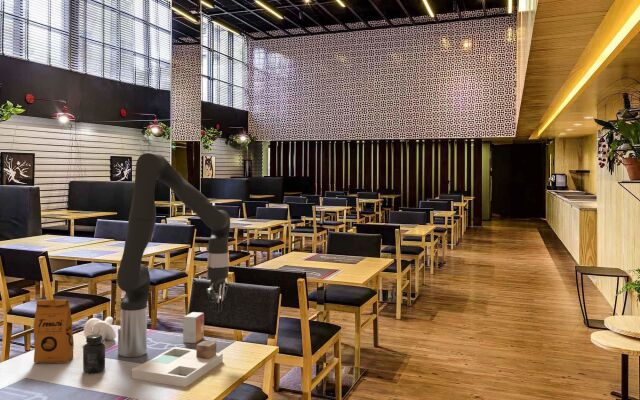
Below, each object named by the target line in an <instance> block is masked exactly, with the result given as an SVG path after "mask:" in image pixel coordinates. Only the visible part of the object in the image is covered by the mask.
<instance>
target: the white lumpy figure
mask: <svg viewBox="0 0 640 400" xmlns="http://www.w3.org/2000/svg"><path fill="white" fill-rule="evenodd" d="M113 321H114V319H113V317H112V316H107V317H105V319H104V320H101V319H99V318H97V317H92V318H90V319H88V320H87V321H86V322H85V323H84V326H83V335H84V338H85V339H86V337H87V336H88V335H92V334H101V335H102V341H104V340H105V339H106V340H107V341H114V340H115V339H116V336H117V334H116V331H115V329H114V328H113V326H112V324H113Z"/></svg>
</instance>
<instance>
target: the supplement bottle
mask: <svg viewBox="0 0 640 400" xmlns="http://www.w3.org/2000/svg"><path fill="white" fill-rule="evenodd" d="M85 339H86V341H85V342H86V344H84V345H83V348H82V371H83V374H86V375H96V374H100V373H102V372H104V371H105V369H106V344H105V343H104V342H102V341H103V340H102V335H101V334H92V335H88V336H87V337H86V338H85Z"/></svg>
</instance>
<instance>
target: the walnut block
mask: <svg viewBox="0 0 640 400" xmlns="http://www.w3.org/2000/svg"><path fill="white" fill-rule="evenodd" d="M195 346H196V347H195V348H196V349H195V350H196V358H203V359H210V358H212V357H214V356H215V355H216V353H217V342H216V341H209V340H203V341H201V342H198V343H196V345H195Z"/></svg>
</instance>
